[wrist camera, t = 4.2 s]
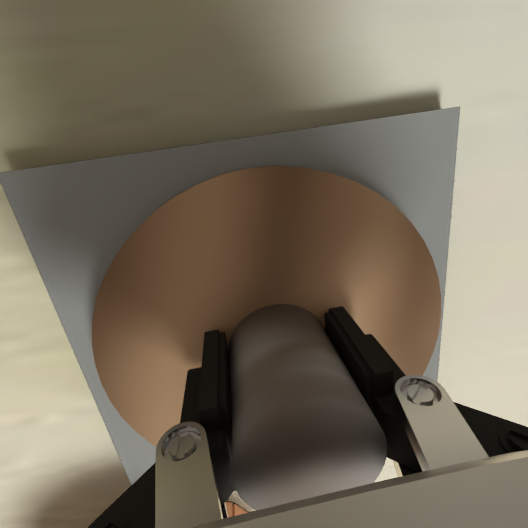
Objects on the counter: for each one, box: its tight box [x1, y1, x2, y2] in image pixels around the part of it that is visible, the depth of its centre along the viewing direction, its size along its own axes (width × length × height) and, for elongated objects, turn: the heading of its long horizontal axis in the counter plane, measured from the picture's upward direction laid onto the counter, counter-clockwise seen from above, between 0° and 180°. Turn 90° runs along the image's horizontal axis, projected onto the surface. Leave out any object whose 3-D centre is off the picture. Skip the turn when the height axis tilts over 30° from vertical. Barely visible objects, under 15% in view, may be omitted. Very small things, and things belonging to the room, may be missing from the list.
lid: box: [92, 165, 441, 511], centre depth 11 cm, size 14×14×6 cm
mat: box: [0, 107, 460, 485], centre depth 14 cm, size 16×16×1 cm
